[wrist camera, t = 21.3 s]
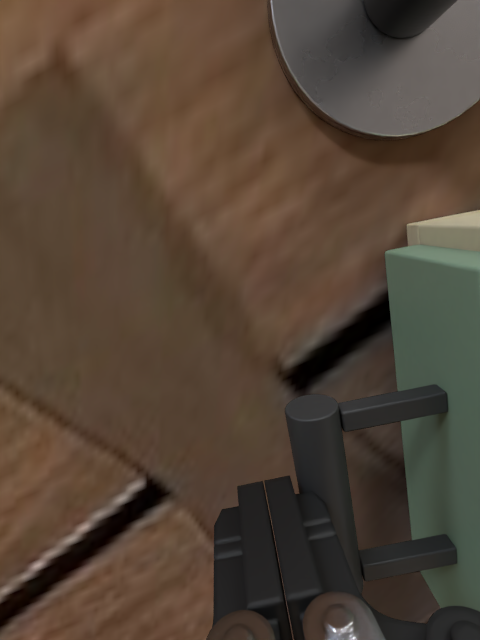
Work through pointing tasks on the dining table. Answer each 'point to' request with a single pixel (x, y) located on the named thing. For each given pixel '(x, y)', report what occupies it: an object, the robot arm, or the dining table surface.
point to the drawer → (414, 427)
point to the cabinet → (447, 232)
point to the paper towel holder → (380, 61)
